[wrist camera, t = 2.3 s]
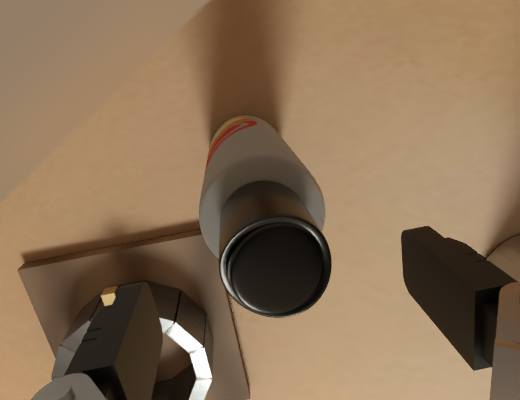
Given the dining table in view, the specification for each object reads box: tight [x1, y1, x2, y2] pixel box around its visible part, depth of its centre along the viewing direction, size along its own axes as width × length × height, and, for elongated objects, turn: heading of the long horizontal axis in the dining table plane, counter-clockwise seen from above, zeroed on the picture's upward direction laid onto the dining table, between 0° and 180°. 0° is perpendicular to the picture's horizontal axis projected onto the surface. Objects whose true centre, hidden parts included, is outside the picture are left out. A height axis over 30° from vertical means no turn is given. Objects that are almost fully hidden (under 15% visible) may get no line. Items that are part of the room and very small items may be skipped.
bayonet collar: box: [51, 280, 214, 400], centre depth 33 cm, size 12×15×4 cm
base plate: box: [18, 229, 250, 400], centre depth 35 cm, size 16×19×1 cm
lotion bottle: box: [199, 115, 331, 318], centre depth 22 cm, size 6×6×20 cm
